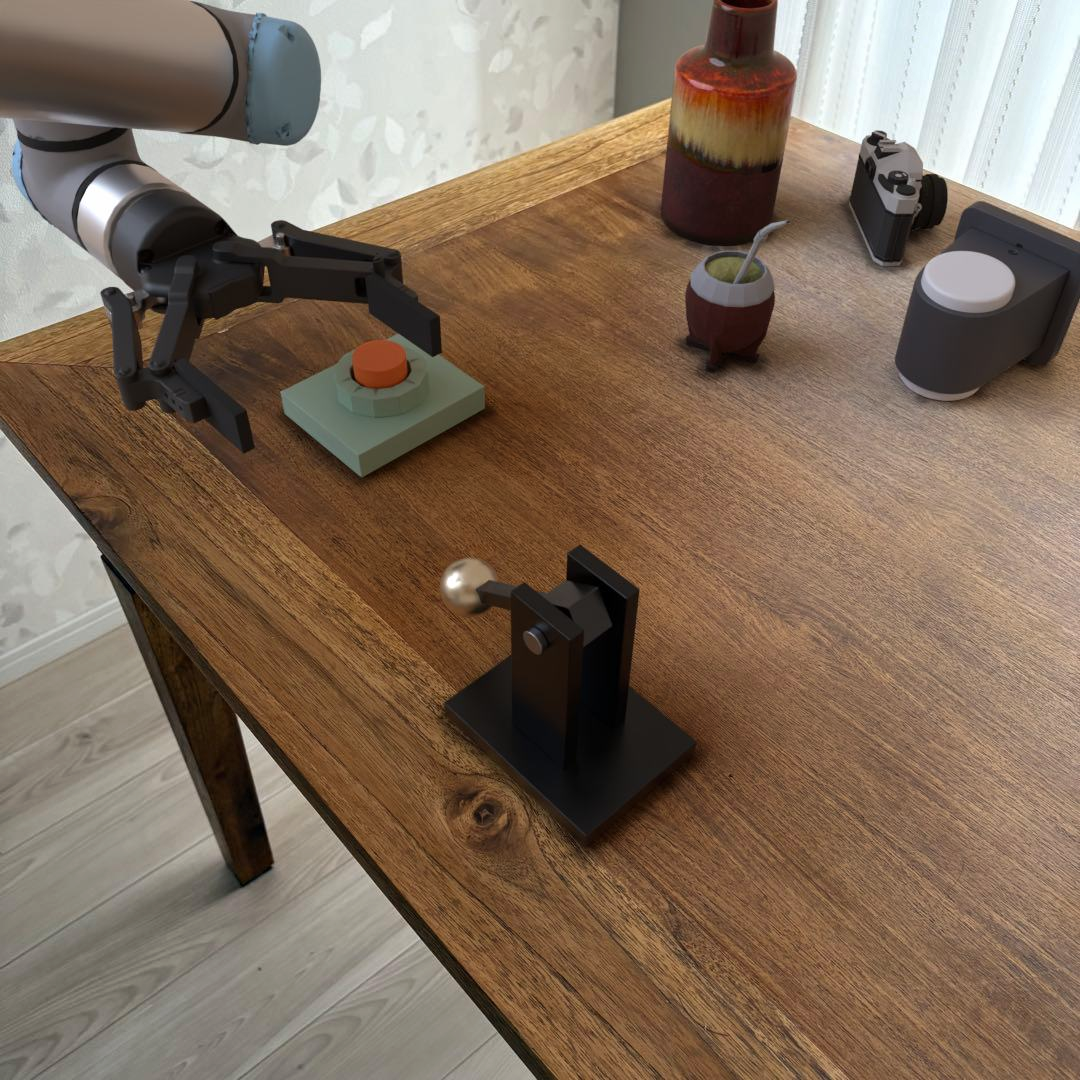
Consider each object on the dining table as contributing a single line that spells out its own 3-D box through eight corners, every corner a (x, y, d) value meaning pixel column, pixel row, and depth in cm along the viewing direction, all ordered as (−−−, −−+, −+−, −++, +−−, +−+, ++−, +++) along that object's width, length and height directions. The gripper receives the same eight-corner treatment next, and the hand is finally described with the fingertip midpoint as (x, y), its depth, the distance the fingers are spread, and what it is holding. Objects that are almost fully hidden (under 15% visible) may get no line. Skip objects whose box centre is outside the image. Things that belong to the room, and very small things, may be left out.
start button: (375, 397, 82) (373, 378, 81) (343, 372, 84) (341, 354, 83) (418, 375, 84) (416, 356, 83) (386, 351, 86) (384, 333, 85)
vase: (760, 188, 112) (795, -26, 98) (781, 245, 105) (823, 21, 90) (653, 190, 112) (673, -25, 97) (668, 247, 104) (691, 23, 90)
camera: (956, 267, 102) (984, 173, 96) (873, 269, 102) (896, 174, 96) (911, 207, 112) (933, 117, 106) (835, 208, 111) (853, 118, 105)
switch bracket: (444, 715, 67) (432, 570, 57) (553, 636, 71) (557, 490, 62) (585, 849, 60) (596, 710, 51) (694, 754, 65) (723, 610, 56)
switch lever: (441, 624, 67) (419, 572, 66) (486, 594, 69) (465, 543, 68) (577, 665, 56) (553, 605, 55) (626, 628, 58) (604, 569, 57)
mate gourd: (695, 319, 96) (717, 154, 85) (784, 342, 94) (817, 176, 83) (665, 365, 91) (684, 197, 80) (757, 391, 89) (789, 222, 78)
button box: (361, 478, 81) (355, 436, 78) (284, 414, 86) (276, 372, 83) (485, 408, 87) (484, 367, 84) (406, 352, 92) (402, 311, 89)
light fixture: (854, 371, 92) (880, 258, 84) (946, 304, 98) (978, 192, 90) (969, 435, 86) (1009, 320, 78) (1059, 359, 92) (1104, 245, 84)
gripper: (319, 228, 84) (505, 350, 73) (1, 359, 72) (168, 529, 61) (305, 133, 79) (504, 249, 68) (-41, 257, 67) (135, 423, 56)
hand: (346, 382), depth 65 cm, fingers open, 13 cm apart
